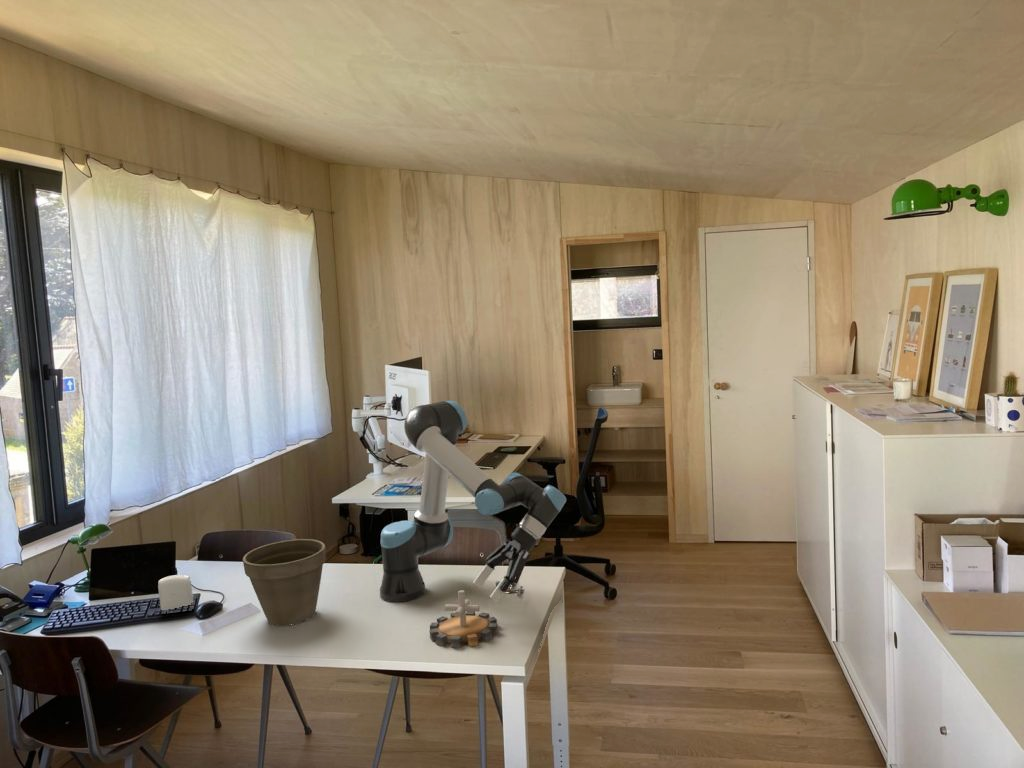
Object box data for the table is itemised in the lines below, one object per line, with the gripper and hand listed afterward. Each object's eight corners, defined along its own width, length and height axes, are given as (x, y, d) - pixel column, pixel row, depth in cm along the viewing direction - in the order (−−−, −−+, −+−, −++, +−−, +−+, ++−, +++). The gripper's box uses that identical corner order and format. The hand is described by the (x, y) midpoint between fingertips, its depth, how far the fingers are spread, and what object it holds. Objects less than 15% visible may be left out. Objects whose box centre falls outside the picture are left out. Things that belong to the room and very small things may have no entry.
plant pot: (246, 639, 228) (239, 568, 226) (251, 609, 251) (245, 545, 249) (332, 625, 234) (326, 556, 232) (329, 597, 258) (323, 534, 256)
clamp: (497, 575, 263) (526, 575, 262) (498, 582, 264) (526, 581, 262) (489, 592, 249) (520, 592, 247) (490, 598, 249) (520, 598, 247)
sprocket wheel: (416, 637, 221) (415, 629, 221) (463, 614, 236) (462, 606, 236) (464, 653, 209) (464, 644, 208) (511, 628, 223) (511, 620, 223)
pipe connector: (475, 632, 216) (472, 597, 215) (441, 631, 218) (439, 596, 218) (484, 619, 226) (482, 585, 225) (452, 618, 228) (450, 585, 228)
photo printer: (159, 616, 251) (155, 579, 250) (163, 611, 255) (159, 575, 254) (192, 612, 253) (188, 576, 251) (195, 607, 257) (191, 571, 256)
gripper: (555, 550, 218) (510, 613, 214) (520, 530, 241) (478, 586, 236) (537, 536, 215) (491, 598, 211) (503, 516, 238) (461, 572, 234)
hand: (484, 592), depth 224 cm, fingers open, 13 cm apart
